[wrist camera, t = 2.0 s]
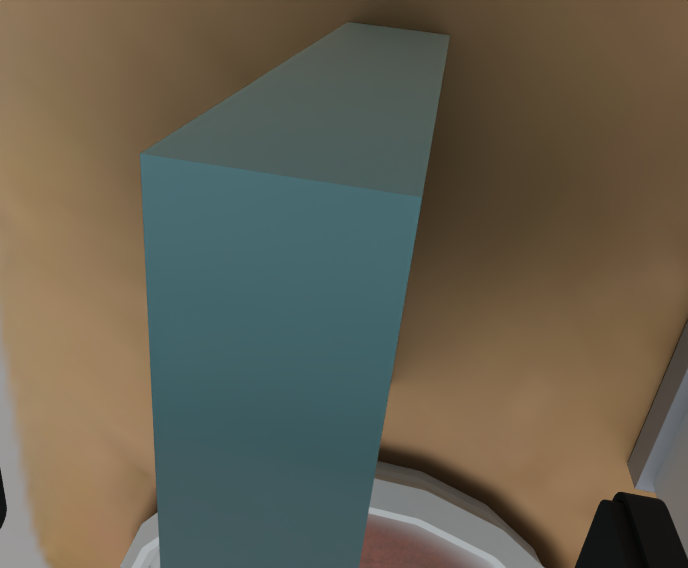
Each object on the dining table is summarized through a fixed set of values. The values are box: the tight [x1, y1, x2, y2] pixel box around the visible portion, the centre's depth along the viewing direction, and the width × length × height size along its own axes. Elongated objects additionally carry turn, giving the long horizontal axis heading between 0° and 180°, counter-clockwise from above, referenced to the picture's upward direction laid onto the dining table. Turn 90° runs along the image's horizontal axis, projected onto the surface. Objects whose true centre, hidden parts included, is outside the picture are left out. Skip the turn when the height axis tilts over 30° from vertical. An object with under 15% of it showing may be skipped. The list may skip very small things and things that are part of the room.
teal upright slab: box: [140, 22, 450, 568], centre depth 13 cm, size 10×2×11 cm, turn 174°
